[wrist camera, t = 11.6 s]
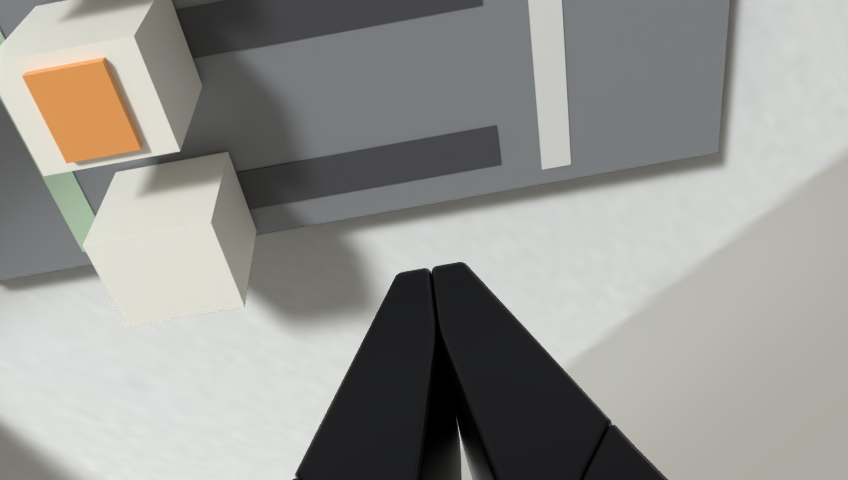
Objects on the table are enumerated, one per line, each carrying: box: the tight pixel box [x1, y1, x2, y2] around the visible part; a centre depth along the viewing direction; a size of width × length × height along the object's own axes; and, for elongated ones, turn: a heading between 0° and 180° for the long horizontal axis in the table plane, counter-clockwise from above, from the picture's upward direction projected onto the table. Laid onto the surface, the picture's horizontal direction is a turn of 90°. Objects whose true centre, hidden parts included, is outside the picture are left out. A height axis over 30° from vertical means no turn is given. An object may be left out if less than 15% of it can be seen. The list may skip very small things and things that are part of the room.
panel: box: [0, 0, 730, 281], centre depth 19 cm, size 22×12×1 cm, turn 99°
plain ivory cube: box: [83, 152, 257, 327], centre depth 20 cm, size 3×3×3 cm
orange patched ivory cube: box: [0, 0, 202, 176], centre depth 17 cm, size 3×3×3 cm
